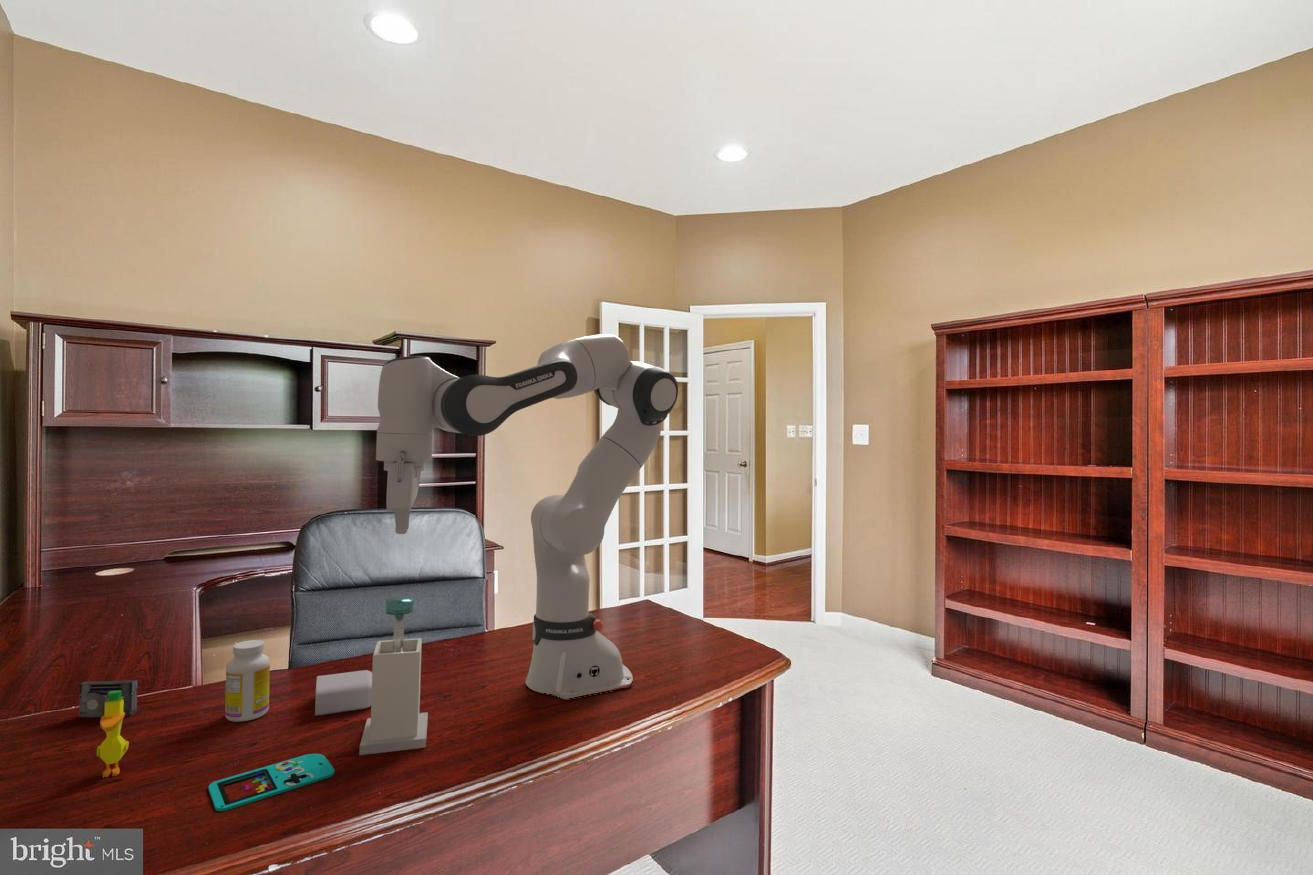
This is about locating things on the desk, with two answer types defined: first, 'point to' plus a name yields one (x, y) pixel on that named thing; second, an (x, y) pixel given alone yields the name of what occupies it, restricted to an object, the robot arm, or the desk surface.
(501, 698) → the desk surface
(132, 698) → the mini dv tape
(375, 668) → the press housing
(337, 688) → the charger
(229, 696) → the supplement bottle
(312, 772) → the handheld gaming console
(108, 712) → the toy figure
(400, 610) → the plunger
